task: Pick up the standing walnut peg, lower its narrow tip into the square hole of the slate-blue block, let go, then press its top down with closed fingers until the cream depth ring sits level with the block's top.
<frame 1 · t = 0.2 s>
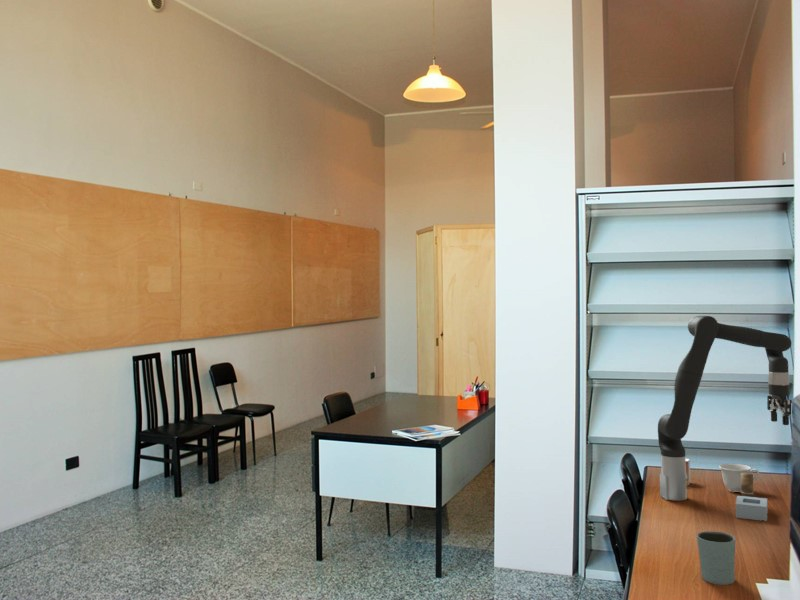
hand: (779, 423, 281), 29 cm above the table, tool pointing down, fingers open, 8 cm apart
walnut peg: (747, 505, 267), on the table
grey-green cup: (717, 579, 197), on the table
small box: (679, 483, 301), on the table
hole block: (751, 514, 255), on the table
teacup: (739, 491, 286), on the table
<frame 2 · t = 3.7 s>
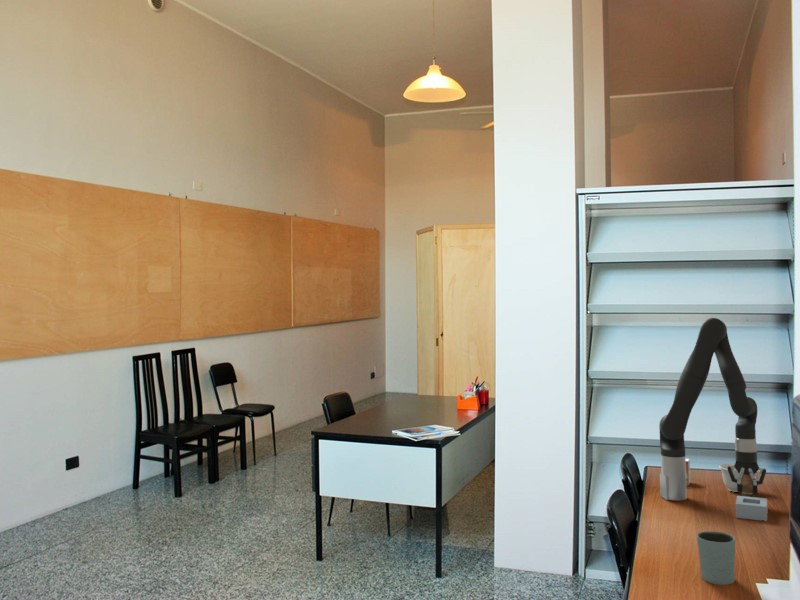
hand: (747, 493, 267), 4 cm above the table, tool pointing down, fingers closed on walnut peg, 4 cm apart
walnut peg: (747, 505, 267), on the table, touching gripper
everything else where it was.
when the fingers open (7 cm above the table, at t = 7.9 s): walnut peg drops 2 cm, resting in hole block.
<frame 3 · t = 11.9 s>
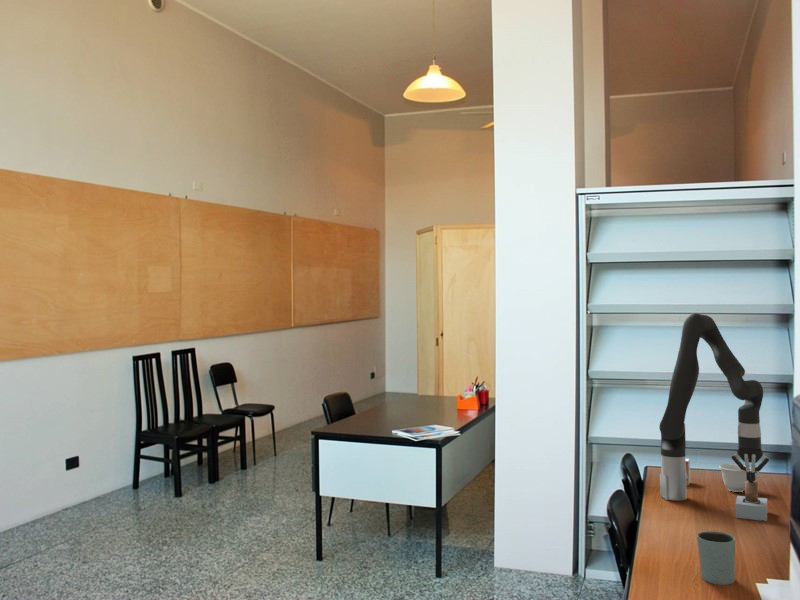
hand: (750, 481, 255), 12 cm above the table, tool pointing down, fingers closed
walnut peg: (752, 514, 255), resting in hole block, touching gripper
everything else where it was.
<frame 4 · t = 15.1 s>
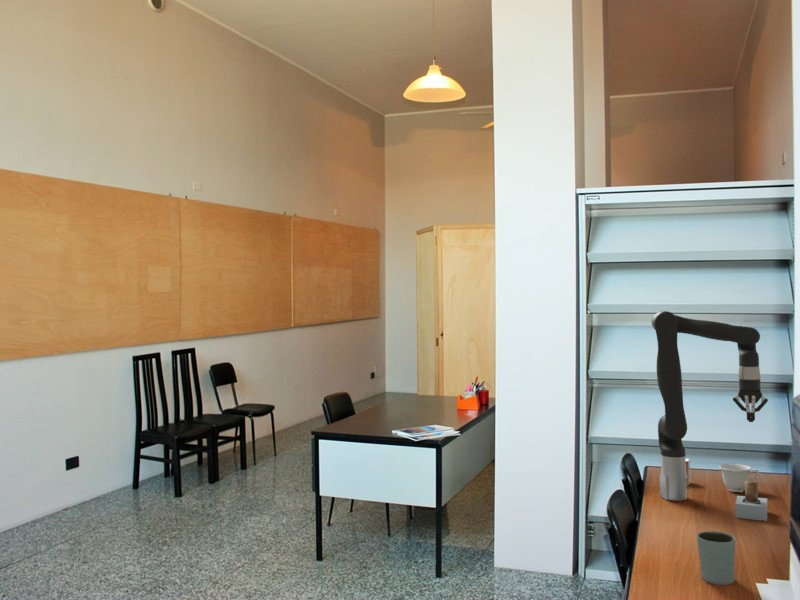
hand: (750, 421, 272), 31 cm above the table, tool pointing down, fingers closed
walnut peg: (752, 514, 255), resting in hole block
everything else where it was.
at the end: walnut peg 0.1 cm off-centre on the hole block, point 0.0 cm above the hole block's base; walnut peg tilted 0°; the gripper is holding nothing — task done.
